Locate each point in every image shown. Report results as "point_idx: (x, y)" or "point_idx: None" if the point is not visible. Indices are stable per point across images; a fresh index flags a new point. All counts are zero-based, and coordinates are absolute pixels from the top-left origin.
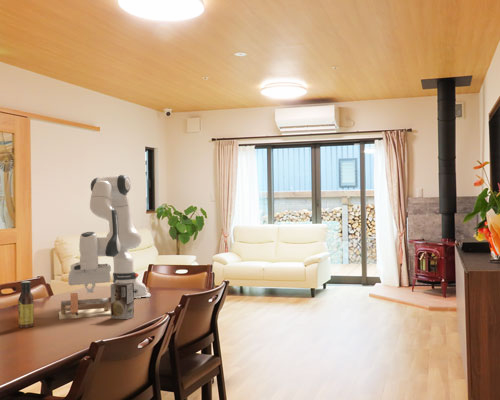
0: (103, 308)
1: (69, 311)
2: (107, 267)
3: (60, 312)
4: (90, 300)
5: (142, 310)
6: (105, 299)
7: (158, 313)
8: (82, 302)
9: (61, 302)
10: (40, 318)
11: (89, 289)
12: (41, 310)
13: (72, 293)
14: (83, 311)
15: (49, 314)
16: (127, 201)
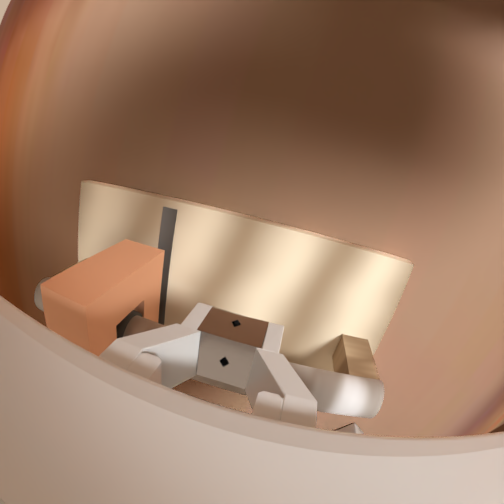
0: (375, 262)
1: (129, 223)
2: None
3: (85, 223)
4: (223, 388)
5: (496, 368)
6: (346, 414)
7: (476, 434)
8: None
9: (42, 310)
10: (31, 257)
11: (211, 378)
12: (55, 56)
13: (53, 306)
14: (208, 281)
15: (55, 183)
16: None
